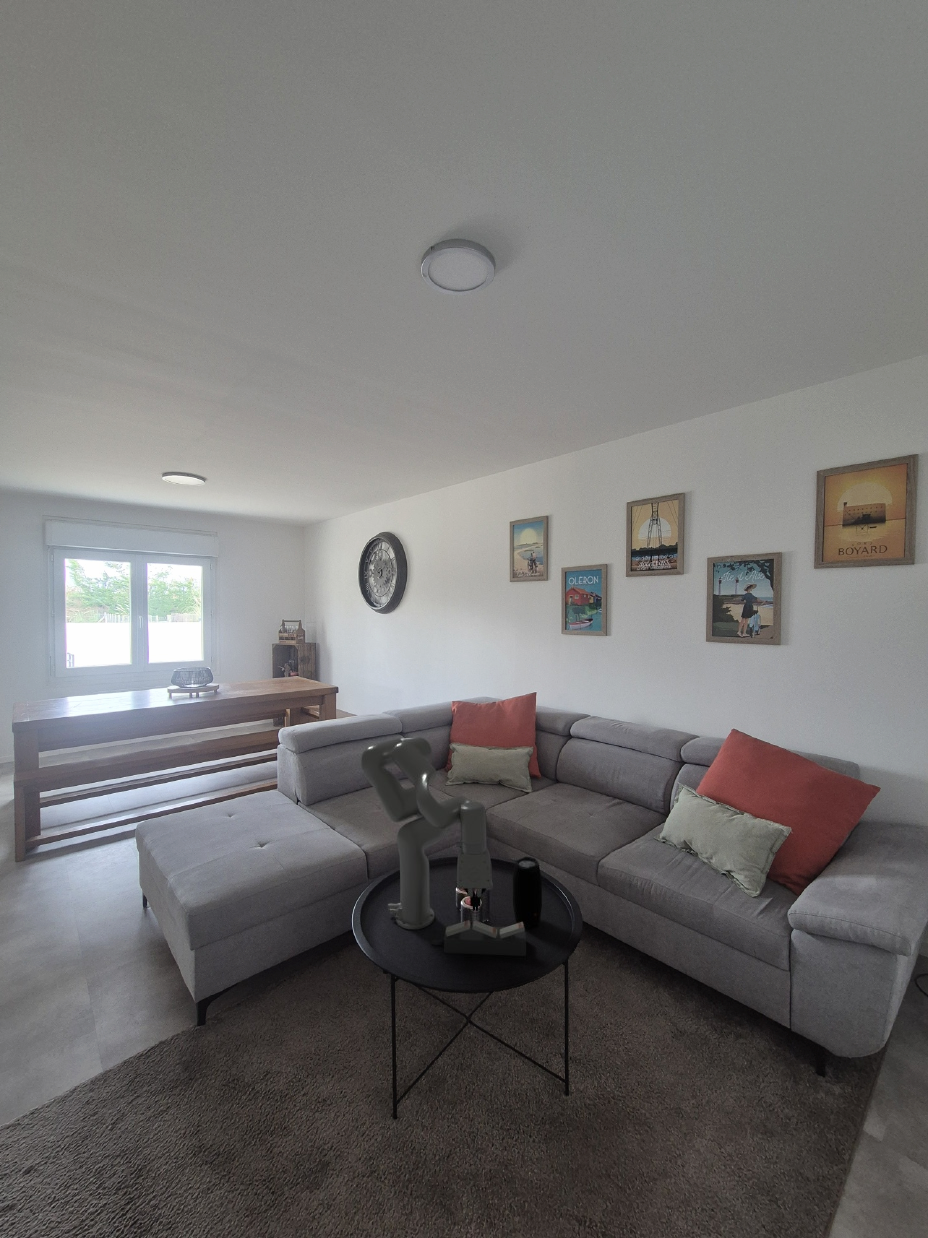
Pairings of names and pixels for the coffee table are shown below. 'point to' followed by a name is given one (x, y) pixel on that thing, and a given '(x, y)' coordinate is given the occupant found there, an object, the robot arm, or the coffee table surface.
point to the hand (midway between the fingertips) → (475, 908)
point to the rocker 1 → (458, 928)
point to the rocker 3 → (512, 930)
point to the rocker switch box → (483, 943)
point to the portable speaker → (527, 891)
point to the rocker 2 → (485, 929)
